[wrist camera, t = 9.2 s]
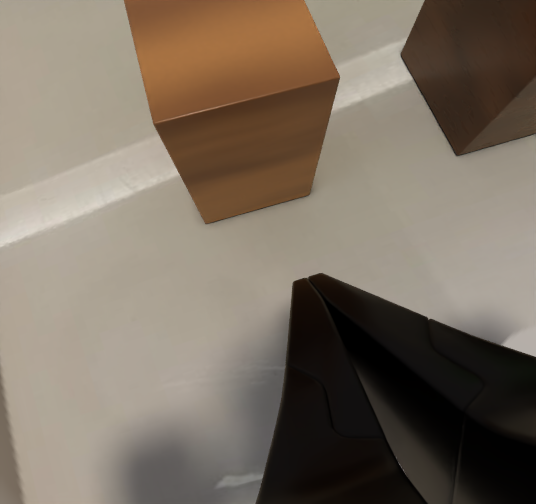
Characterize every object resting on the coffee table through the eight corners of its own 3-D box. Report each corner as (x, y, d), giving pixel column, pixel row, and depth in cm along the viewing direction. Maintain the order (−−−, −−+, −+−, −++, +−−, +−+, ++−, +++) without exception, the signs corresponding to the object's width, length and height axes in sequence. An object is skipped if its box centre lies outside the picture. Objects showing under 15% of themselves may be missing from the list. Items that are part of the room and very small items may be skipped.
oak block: (310, 194, 18) (341, 76, 10) (205, 224, 17) (153, 124, 9) (268, 85, 20) (266, -81, 12) (174, 108, 19) (112, -49, 12)
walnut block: (548, 130, 19) (742, -21, 11) (456, 156, 18) (592, 17, 11) (482, 33, 21) (605, -148, 13) (399, 54, 20) (478, -122, 13)
